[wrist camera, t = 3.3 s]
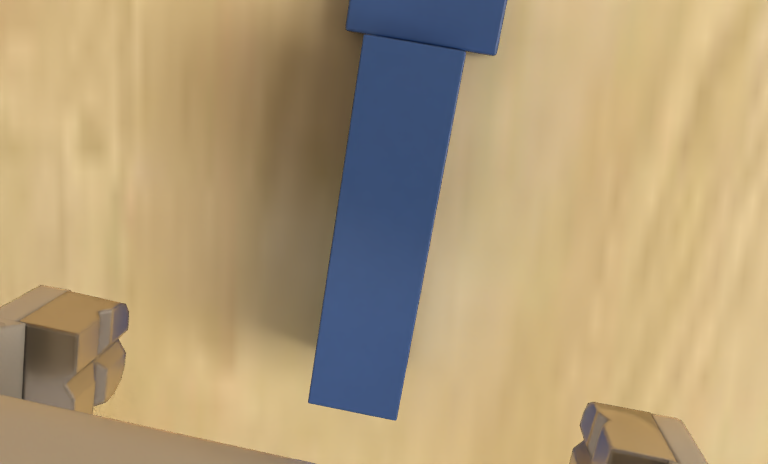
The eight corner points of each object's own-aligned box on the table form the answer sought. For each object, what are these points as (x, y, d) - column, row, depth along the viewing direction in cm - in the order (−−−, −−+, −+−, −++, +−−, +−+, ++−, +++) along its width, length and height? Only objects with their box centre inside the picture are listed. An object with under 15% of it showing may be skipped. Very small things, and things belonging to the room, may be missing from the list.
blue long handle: (383, -196, 22) (367, -246, 19) (539, -172, 22) (557, -219, 18) (303, 348, 27) (278, 397, 24) (430, 373, 27) (425, 427, 23)
